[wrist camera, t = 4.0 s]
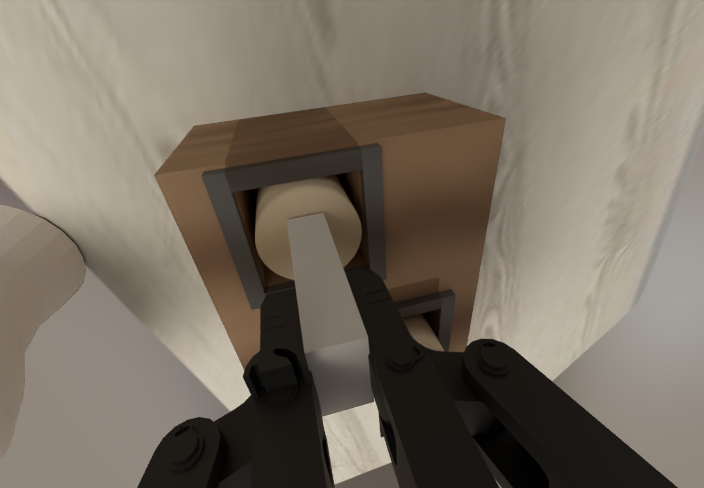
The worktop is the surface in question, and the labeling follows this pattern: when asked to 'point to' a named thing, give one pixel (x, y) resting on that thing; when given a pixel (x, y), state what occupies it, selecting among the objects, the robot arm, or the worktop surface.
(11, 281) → the cup
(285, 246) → the dowel
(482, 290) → the worktop surface
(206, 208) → the walnut block
